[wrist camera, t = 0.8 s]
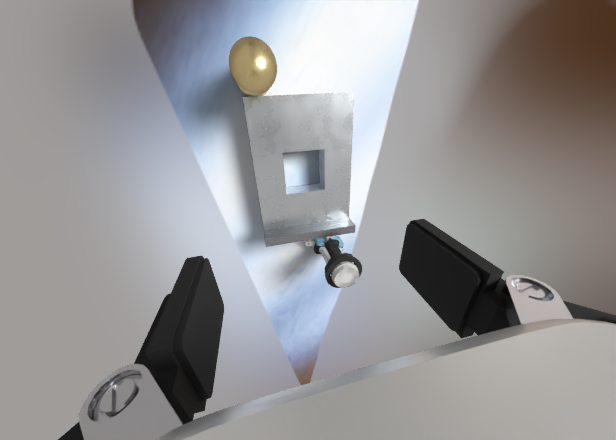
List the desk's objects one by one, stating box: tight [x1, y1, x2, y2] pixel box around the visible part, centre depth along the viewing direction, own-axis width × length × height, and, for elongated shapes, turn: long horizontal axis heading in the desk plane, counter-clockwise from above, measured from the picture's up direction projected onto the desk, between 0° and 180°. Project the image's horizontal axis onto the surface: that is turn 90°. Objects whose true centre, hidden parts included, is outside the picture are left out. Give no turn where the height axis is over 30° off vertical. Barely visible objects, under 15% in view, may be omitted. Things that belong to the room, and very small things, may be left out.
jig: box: [243, 92, 355, 247], centre depth 29 cm, size 18×13×6 cm
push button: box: [304, 236, 362, 288], centre depth 34 cm, size 7×5×10 cm
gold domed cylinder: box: [229, 37, 277, 97], centre depth 22 cm, size 4×4×8 cm
